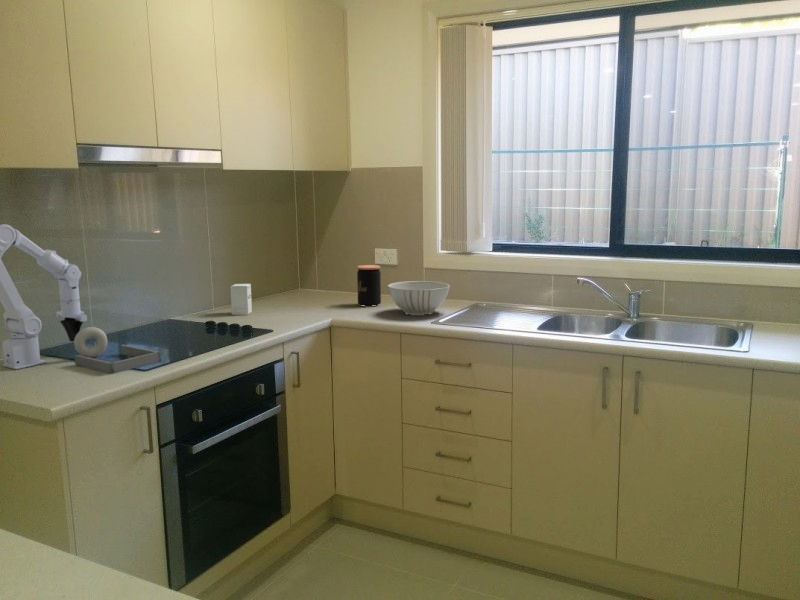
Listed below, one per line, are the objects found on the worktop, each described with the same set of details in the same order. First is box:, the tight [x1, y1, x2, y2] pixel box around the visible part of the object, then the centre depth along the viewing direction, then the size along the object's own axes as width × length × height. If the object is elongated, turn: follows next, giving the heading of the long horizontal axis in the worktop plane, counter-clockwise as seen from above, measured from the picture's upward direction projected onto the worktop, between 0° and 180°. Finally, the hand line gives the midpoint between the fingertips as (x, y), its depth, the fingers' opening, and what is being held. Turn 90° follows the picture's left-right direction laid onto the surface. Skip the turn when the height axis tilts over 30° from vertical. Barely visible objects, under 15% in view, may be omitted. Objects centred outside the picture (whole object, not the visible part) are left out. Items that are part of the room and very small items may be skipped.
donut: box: [73, 326, 109, 358], centre depth 215 cm, size 10×4×10 cm, turn 125°
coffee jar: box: [356, 264, 382, 306], centre depth 308 cm, size 11×11×18 cm
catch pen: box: [73, 344, 162, 374], centre depth 208 cm, size 17×19×3 cm
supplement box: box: [230, 283, 253, 316], centre depth 289 cm, size 7×7×13 cm
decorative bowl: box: [387, 280, 451, 316], centre depth 288 cm, size 27×27×12 cm
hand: (73, 340), depth 221 cm, fingers closed
